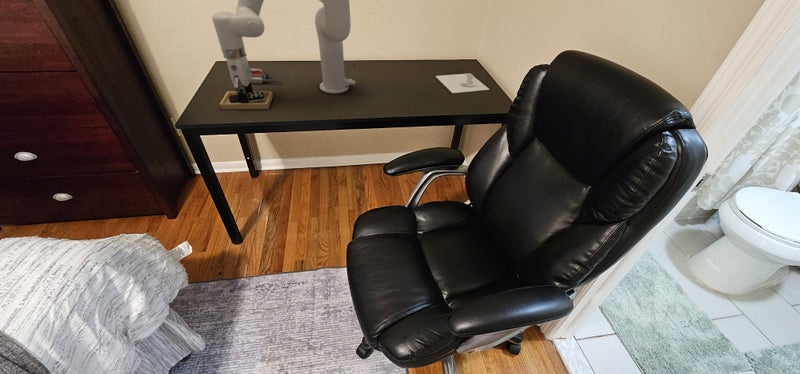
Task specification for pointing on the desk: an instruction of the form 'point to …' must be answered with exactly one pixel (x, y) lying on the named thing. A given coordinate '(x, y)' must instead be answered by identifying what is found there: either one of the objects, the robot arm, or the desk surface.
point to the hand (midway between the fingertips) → (246, 97)
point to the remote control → (249, 97)
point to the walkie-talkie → (260, 76)
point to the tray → (256, 105)
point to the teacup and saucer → (461, 83)
